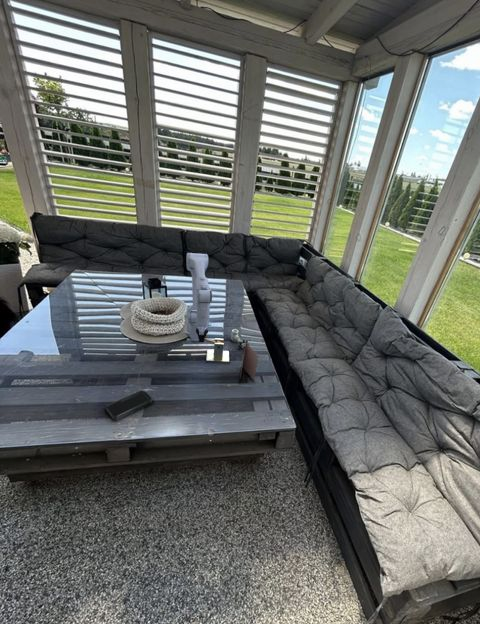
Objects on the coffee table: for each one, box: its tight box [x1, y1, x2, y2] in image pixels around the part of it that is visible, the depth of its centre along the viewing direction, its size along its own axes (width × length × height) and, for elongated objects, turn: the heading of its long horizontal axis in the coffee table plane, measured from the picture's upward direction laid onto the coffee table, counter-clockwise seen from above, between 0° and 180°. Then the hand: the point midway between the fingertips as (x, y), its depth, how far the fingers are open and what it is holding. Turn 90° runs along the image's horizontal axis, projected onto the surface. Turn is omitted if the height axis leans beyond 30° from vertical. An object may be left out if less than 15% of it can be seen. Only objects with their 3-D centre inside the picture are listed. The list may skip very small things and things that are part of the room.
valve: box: [230, 328, 250, 351], centre depth 155 cm, size 7×7×12 cm
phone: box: [104, 390, 153, 421], centre depth 110 cm, size 8×1×15 cm
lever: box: [198, 337, 223, 345], centre depth 139 cm, size 12×3×3 cm, turn 98°
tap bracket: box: [206, 337, 230, 363], centre depth 142 cm, size 11×9×10 cm
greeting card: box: [239, 342, 260, 381], centre depth 132 cm, size 11×7×15 cm, turn 178°
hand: (201, 339), depth 138 cm, fingers closed on lever, 3 cm apart
